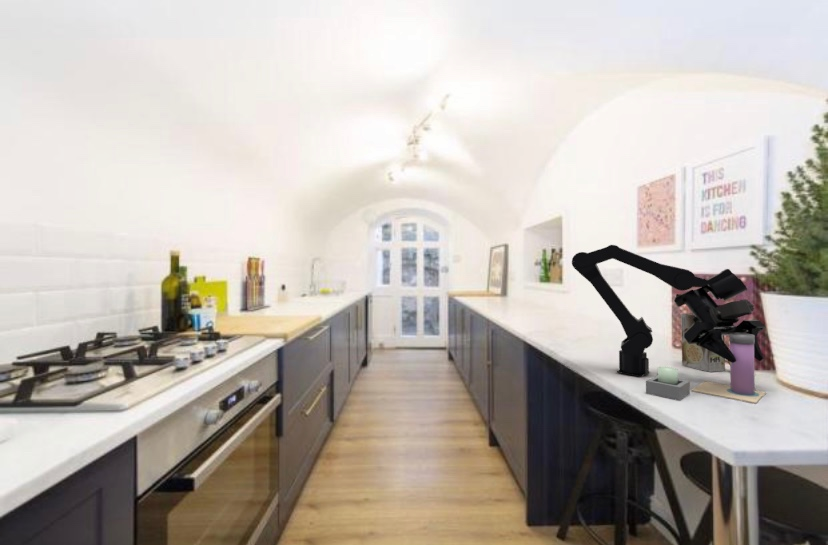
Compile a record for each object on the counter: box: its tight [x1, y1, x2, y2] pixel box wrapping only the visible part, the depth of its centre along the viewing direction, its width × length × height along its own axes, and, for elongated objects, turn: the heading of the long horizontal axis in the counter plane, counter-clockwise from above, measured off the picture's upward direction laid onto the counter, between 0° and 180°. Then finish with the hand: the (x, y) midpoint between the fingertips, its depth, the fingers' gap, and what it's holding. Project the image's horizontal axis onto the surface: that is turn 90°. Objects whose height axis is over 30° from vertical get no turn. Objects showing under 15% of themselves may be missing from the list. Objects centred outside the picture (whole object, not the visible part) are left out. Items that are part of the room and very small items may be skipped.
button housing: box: [645, 375, 691, 401], centre depth 93 cm, size 7×7×3 cm
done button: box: [657, 366, 679, 385], centre depth 93 cm, size 4×4×4 cm
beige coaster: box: [690, 381, 767, 404], centre depth 94 cm, size 12×11×1 cm
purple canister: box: [728, 333, 756, 395], centre depth 92 cm, size 5×5×14 cm
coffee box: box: [680, 312, 726, 373], centre depth 117 cm, size 9×6×16 cm
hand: (748, 360), depth 91 cm, fingers open, 7 cm apart
